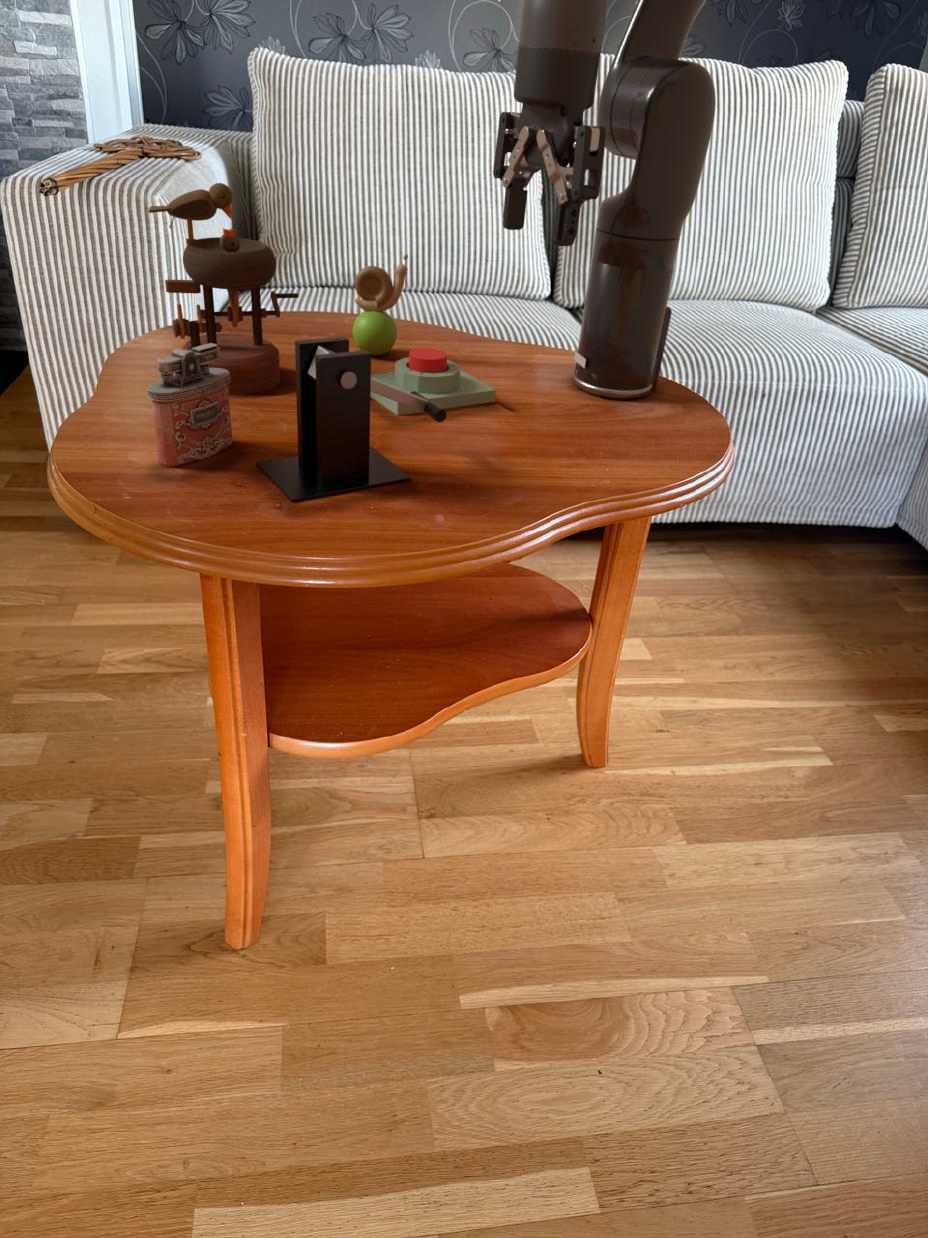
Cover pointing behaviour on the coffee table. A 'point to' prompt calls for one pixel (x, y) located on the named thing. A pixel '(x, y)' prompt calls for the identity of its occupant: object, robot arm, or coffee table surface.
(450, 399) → the button box
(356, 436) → the bracket
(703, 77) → the robot arm
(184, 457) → the lighter
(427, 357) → the button
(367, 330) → the snail figurine
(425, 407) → the lever
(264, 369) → the bird automaton
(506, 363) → the coffee table surface
